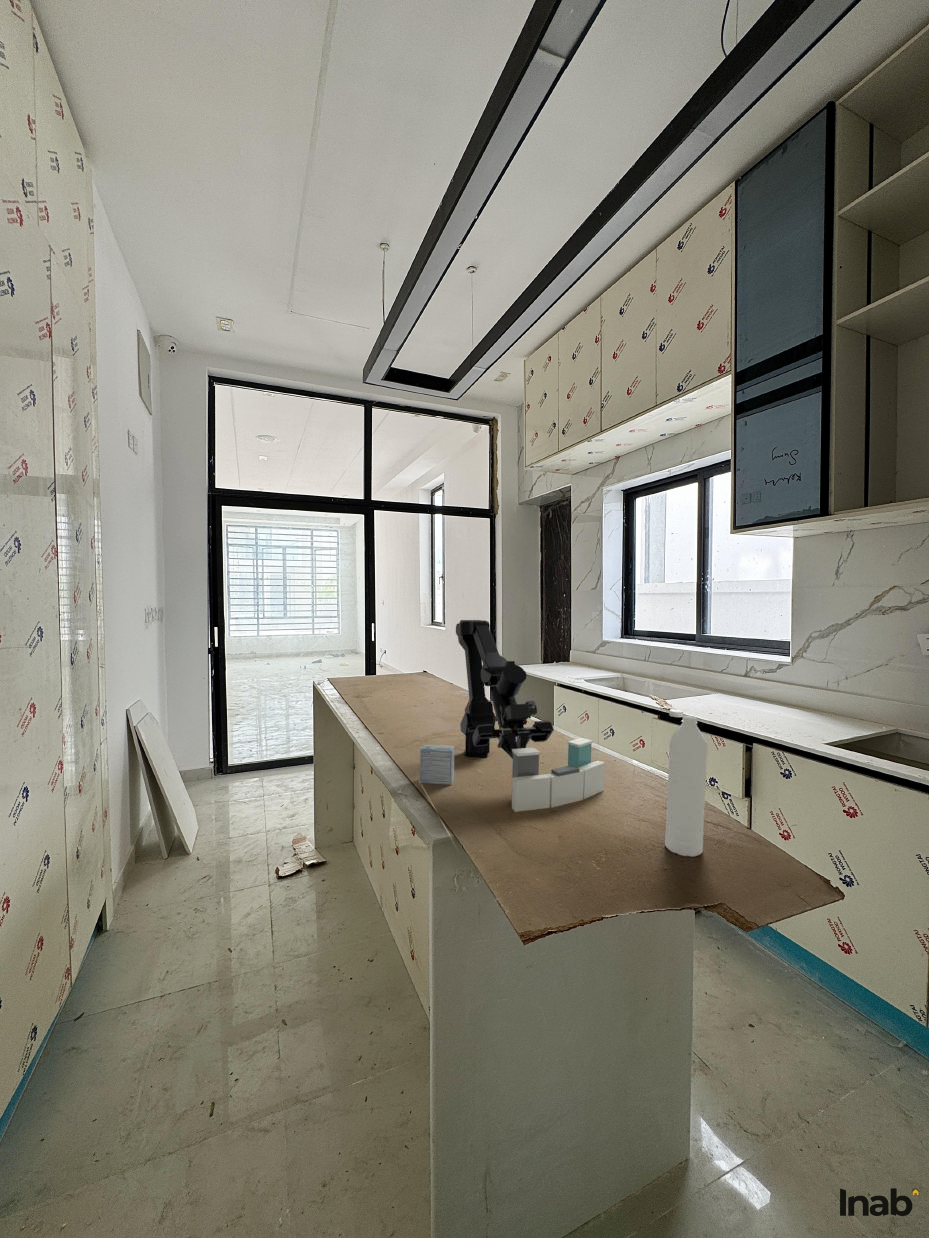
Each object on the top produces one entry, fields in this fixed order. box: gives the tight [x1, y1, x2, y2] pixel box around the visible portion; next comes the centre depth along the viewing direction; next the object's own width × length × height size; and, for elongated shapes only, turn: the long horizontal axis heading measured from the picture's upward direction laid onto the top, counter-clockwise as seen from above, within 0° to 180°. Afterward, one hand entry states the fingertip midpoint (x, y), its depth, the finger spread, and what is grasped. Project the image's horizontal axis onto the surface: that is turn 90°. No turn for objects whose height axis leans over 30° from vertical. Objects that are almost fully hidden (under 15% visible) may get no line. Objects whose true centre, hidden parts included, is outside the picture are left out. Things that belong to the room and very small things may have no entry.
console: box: [511, 760, 606, 813], centre depth 118 cm, size 26×4×8 cm, turn 120°
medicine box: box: [419, 744, 455, 786], centre depth 128 cm, size 8×4×9 cm, turn 84°
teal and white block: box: [567, 737, 593, 768], centre depth 124 cm, size 3×5×12 cm, turn 133°
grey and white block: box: [511, 747, 541, 777], centre depth 117 cm, size 3×5×12 cm, turn 106°
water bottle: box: [664, 708, 708, 858], centre depth 98 cm, size 9×6×25 cm
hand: (522, 766), depth 118 cm, fingers closed
